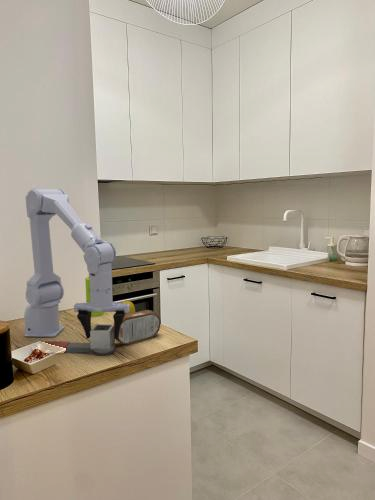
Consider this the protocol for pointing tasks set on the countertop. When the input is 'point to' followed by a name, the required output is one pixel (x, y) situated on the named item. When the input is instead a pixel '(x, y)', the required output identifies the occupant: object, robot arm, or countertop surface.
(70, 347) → the ratchet
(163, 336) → the countertop surface
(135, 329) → the tin
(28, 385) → the countertop surface
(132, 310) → the lemon
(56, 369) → the countertop surface
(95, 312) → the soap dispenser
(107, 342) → the socket
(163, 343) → the countertop surface
